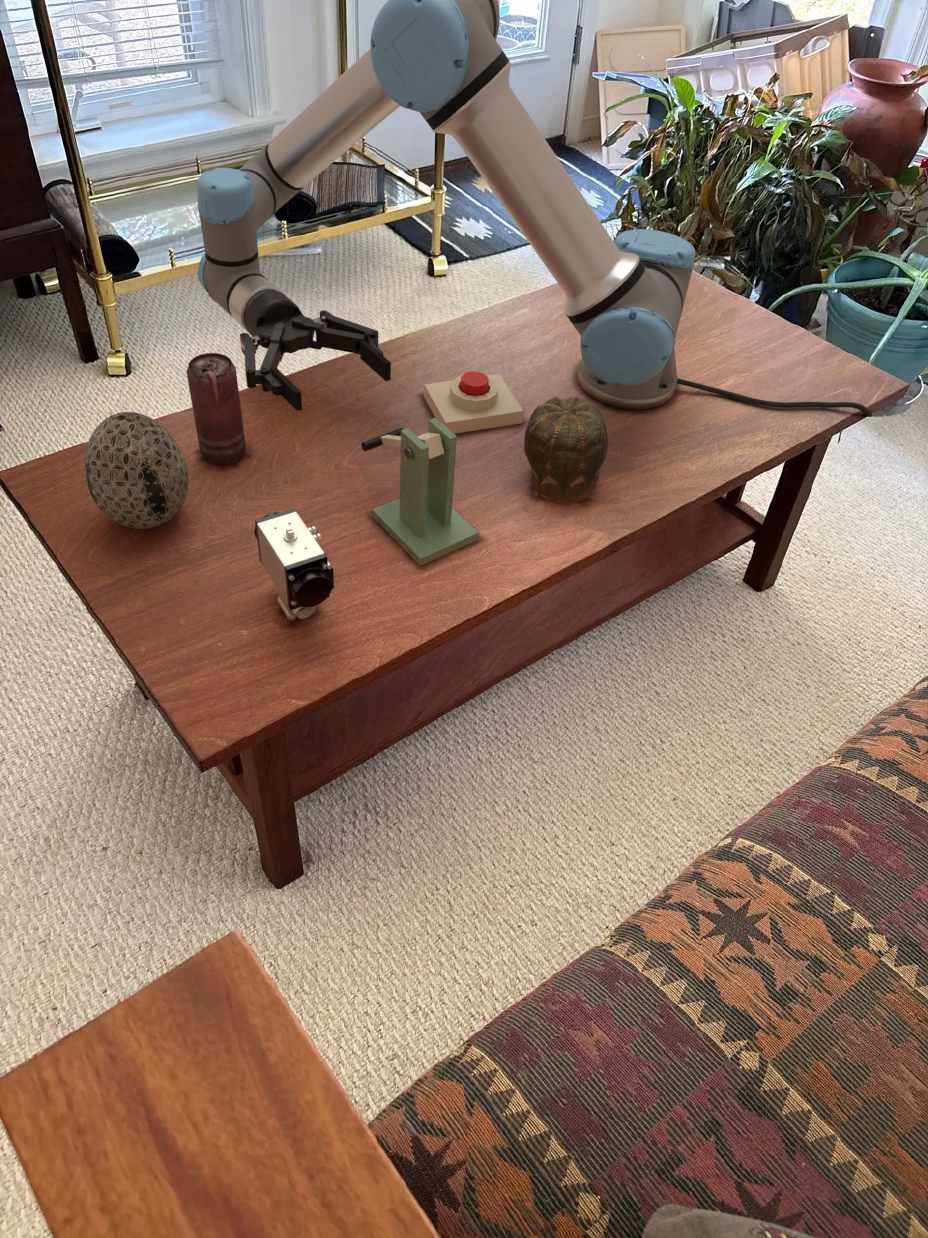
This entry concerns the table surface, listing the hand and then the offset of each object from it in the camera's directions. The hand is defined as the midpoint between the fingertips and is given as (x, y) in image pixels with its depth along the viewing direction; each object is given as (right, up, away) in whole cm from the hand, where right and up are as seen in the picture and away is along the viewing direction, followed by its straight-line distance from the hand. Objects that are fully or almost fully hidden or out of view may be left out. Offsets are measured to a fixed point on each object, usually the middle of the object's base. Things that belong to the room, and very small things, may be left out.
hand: (345, 386), depth 124 cm
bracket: (+11, -19, -2) cm, 22 cm away
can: (-17, -8, +6) cm, 20 cm away
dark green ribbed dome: (+29, -12, +6) cm, 32 cm away
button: (+17, +3, +14) cm, 22 cm away
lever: (+9, -10, -7) cm, 15 cm away
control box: (+17, +1, +17) cm, 24 cm away
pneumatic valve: (-4, -29, -13) cm, 32 cm away
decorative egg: (-24, -18, -4) cm, 31 cm away
